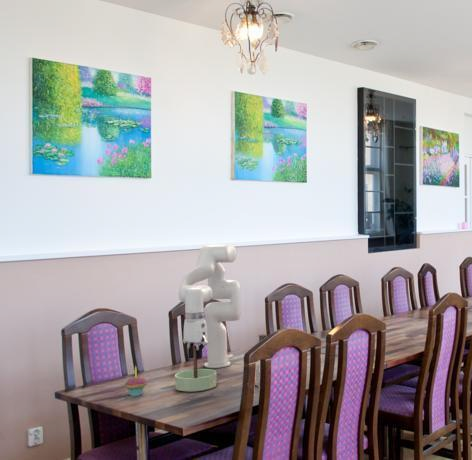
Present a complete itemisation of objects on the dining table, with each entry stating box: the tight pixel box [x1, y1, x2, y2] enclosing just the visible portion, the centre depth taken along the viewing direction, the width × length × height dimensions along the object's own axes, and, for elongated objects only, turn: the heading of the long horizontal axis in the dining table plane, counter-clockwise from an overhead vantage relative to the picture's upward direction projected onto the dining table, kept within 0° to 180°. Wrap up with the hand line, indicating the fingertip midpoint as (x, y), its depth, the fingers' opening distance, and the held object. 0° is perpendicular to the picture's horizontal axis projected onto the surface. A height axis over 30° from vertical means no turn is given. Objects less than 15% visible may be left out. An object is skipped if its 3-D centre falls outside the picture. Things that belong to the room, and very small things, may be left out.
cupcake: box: [124, 364, 148, 397], centre depth 269 cm, size 9×8×12 cm
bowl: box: [174, 368, 218, 393], centre depth 279 cm, size 17×17×6 cm
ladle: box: [192, 344, 199, 378], centre depth 279 cm, size 5×5×18 cm
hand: (195, 357), depth 279 cm, fingers open, 3 cm apart
